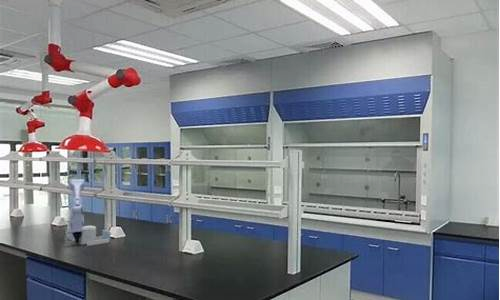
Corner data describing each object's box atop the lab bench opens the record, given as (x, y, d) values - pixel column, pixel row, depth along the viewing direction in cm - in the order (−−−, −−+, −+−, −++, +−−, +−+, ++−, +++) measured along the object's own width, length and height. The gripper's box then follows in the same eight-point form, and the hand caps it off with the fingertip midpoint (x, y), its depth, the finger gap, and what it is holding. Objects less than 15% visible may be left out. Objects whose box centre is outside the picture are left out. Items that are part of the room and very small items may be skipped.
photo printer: (95, 242, 270) (95, 224, 270) (96, 243, 266) (96, 225, 266) (79, 243, 264) (79, 226, 265) (80, 245, 261) (80, 227, 261)
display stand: (81, 242, 268) (81, 232, 268) (103, 239, 279) (103, 229, 279) (87, 245, 259) (87, 235, 259) (110, 242, 270) (110, 232, 270)
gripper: (68, 225, 253) (67, 245, 253) (90, 222, 263) (90, 242, 262) (64, 223, 258) (64, 244, 258) (86, 221, 268) (86, 240, 268)
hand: (77, 243), depth 260 cm, fingers closed
